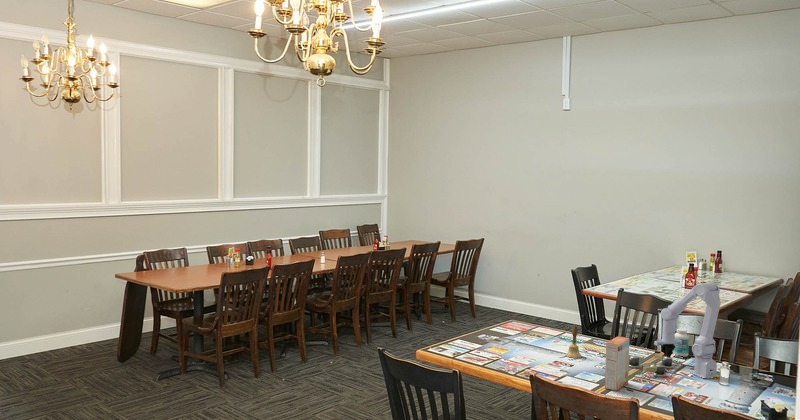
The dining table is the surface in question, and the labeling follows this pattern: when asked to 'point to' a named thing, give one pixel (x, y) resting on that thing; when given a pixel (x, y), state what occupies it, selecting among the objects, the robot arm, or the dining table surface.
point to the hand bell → (573, 346)
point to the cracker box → (617, 363)
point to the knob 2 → (664, 359)
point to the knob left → (655, 369)
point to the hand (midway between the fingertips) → (667, 358)
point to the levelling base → (651, 365)
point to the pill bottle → (684, 347)
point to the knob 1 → (634, 360)
